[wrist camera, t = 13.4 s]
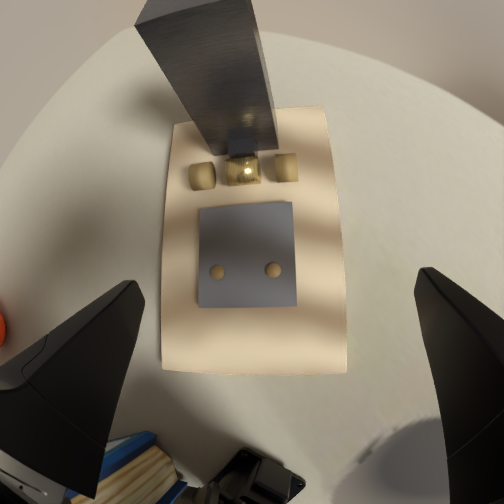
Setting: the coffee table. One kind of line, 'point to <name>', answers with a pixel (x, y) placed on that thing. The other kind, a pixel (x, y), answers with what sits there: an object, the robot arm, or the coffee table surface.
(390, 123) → the coffee table surface
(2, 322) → the clementine
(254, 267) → the board
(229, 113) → the grey block
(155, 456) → the book
